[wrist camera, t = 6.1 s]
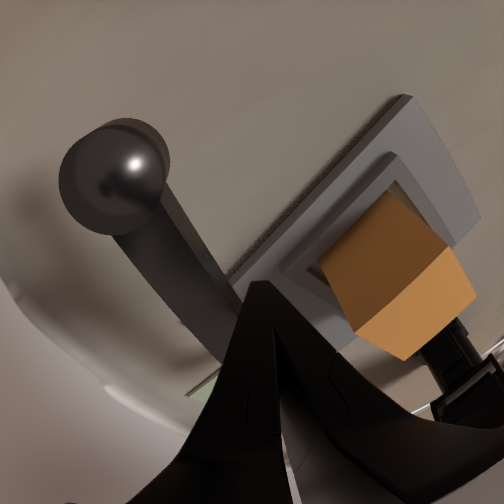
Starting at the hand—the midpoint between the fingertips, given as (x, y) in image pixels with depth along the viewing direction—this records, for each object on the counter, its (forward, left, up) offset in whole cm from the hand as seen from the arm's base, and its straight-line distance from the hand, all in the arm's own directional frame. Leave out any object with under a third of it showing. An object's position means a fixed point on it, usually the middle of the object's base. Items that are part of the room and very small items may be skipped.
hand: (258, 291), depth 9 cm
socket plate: (-10, -1, -9) cm, 13 cm away
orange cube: (-10, -3, -8) cm, 13 cm away
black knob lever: (-2, +3, -7) cm, 8 cm away
